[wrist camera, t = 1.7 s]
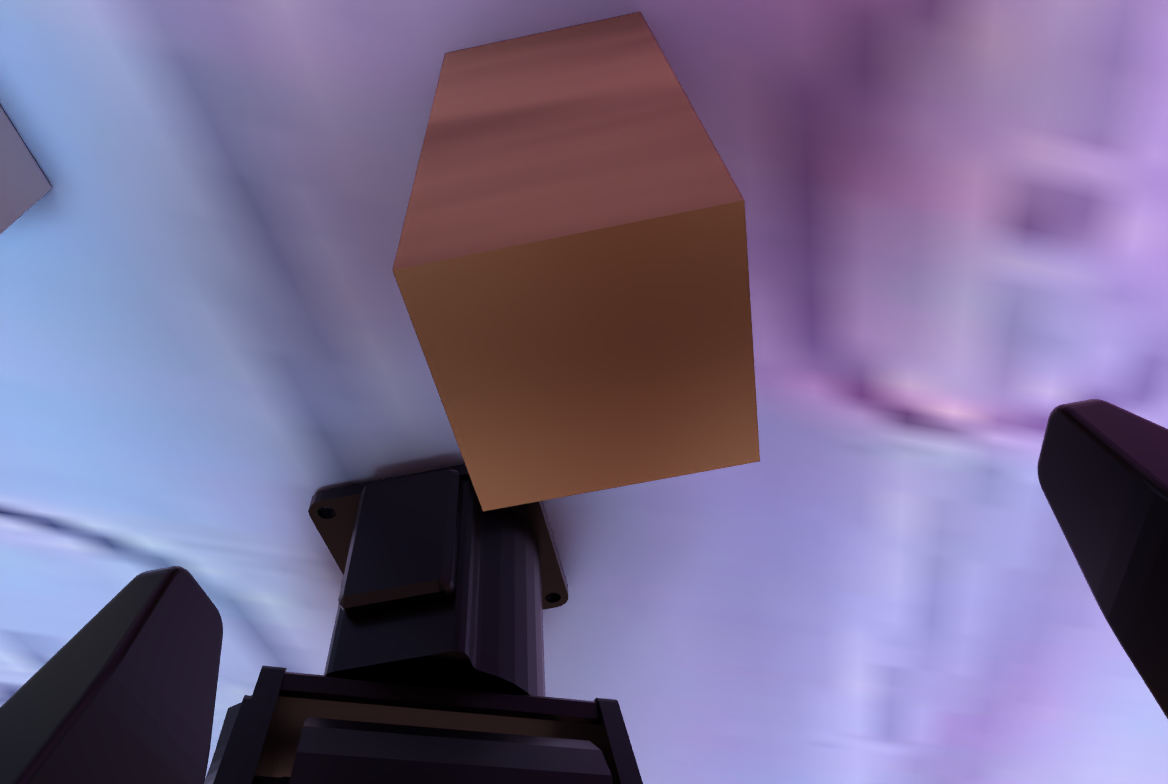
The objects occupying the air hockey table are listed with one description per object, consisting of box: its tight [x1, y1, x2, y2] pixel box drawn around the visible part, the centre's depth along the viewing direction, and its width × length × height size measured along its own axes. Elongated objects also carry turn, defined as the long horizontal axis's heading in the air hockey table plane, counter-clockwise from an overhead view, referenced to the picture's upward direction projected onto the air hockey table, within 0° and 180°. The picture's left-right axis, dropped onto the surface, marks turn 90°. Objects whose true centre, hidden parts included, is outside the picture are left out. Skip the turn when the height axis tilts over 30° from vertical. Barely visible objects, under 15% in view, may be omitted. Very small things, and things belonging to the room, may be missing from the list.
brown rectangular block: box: [393, 12, 760, 511], centre depth 14 cm, size 4×4×9 cm
